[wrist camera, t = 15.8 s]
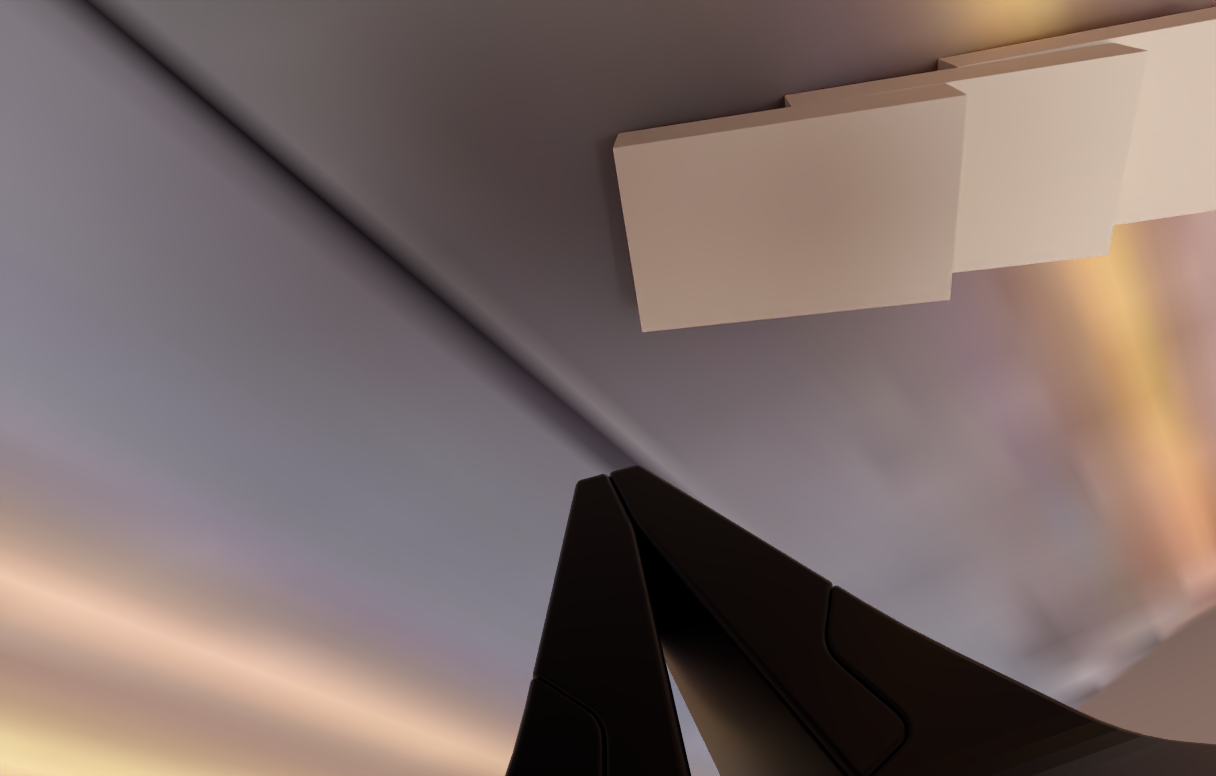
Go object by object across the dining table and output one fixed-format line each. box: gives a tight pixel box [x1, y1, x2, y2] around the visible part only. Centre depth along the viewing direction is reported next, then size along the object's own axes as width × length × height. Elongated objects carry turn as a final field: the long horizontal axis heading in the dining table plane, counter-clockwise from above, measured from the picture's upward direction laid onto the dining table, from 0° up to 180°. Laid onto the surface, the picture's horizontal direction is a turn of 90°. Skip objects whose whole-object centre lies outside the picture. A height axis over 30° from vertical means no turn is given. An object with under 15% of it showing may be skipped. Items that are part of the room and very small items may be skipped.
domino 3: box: [938, 7, 1216, 225], centre depth 20 cm, size 5×2×8 cm
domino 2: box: [784, 43, 1148, 273], centre depth 19 cm, size 5×2×8 cm
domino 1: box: [613, 83, 967, 332], centre depth 18 cm, size 5×2×8 cm
